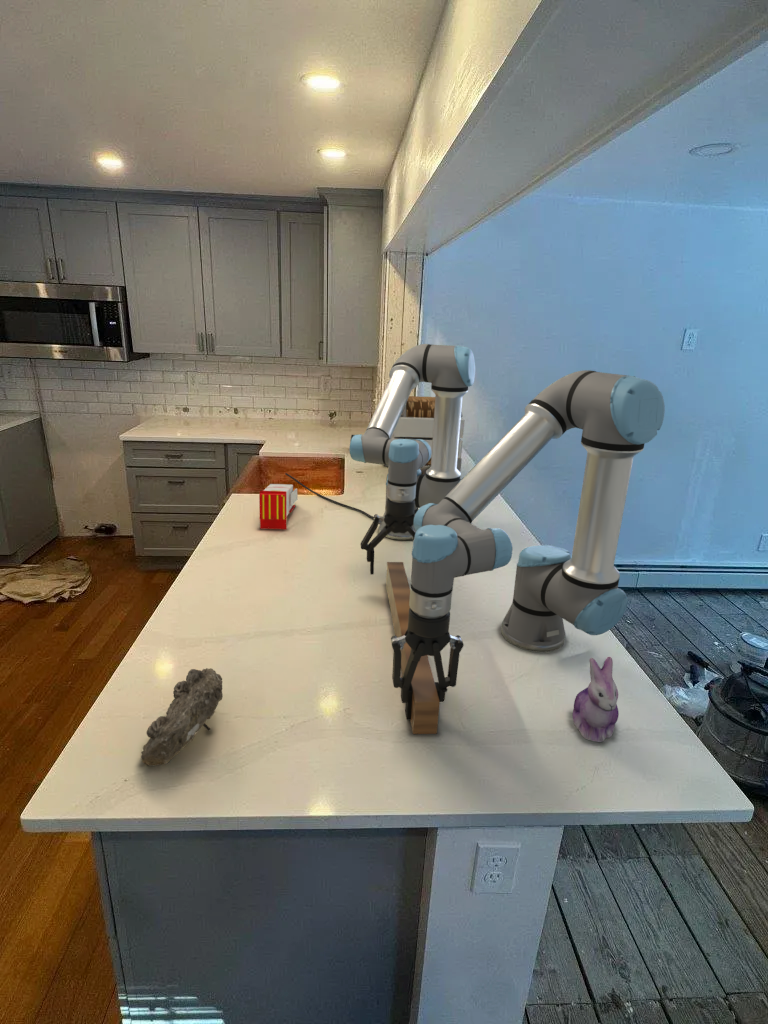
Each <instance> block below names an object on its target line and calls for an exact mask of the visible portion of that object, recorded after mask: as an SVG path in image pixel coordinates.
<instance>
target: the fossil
mask: <svg viewBox="0 0 768 1024" xmlns="http://www.w3.org/2000/svg"><path fill="white" fill-rule="evenodd" d="M172 696H173V700H172V701H171V703H170V704H169V707H168V708H167V710H166V712H165V713H166V714H165V715H166V716H163V715H160V716H158V717H157V718H156V720H153V721H152V722H151V724H150V725H149V726H148V728H147V730H146V736H147V737H148V738H149V739H148V740H147V742H146V743H145V744H144V745H143V746H142V750H141V752H140V753H141V756H140V759H141V762H142V763H143V764H146V765H148V766H149V767H155V766H160V765H167V764H168V763H169V762H170V761H172V759H174V757H176V755H178V754H180V752H181V751H182V750H183V749H184V748H185V747H186V746H187V745H189V744H190V742H192V741H193V739H194V738H195V736H196V734H197V733H198V732H199V731H200V730H201V729H202V728H204V729H206V730H207V731H208V732H209V731H211V728H210V726H208V724H206V721H207V720H210V719H211V718H212V716H213V715H214V714H215V711H216V709H217V707H218V705H219V703H220V702H221V701H222V699H223V698H224V697H223V696H224V695H223V677H222V676H221V674H219V673H217V671H216V670H215V669H213V668H207V667H206V668H203V669H202V670H200V669H196V668H191V669H190V670H189V671H188V673H187V675H186V677H185V680H181V681H178V682H177V683H176V684H175V685H174V687H173V695H172Z"/></svg>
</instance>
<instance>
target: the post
mask: <svg viewBox="0 0 768 1024" xmlns="http://www.w3.org/2000/svg"><path fill="white" fill-rule="evenodd" d="M385 574H386V576H385V588H386V593H387V599H388V603H389V604H388V605H389V610H390V615H391V620H392V626H393V631H394V632H393V633H394V636H396V637H397V638H398V637H401V636H404V635H405V632H406V631H407V629H408V617H409V608H410V606H409V601H410V589H411V586H410V583H409V580H408V576H407V572H406V568H405V563H404V562H402V561H387V562H386V573H385ZM410 653H411V648H410V646H409V645H408V644H407V642H406V643H405V644H404V648H403V649H402V650H401V677H403V674H404V671H405V668H406V665H407V662H408V659H409V656H410ZM432 670H433V669H432V667H431V663H430V660H429V655H425V656H421V658H420V661H419V662H418V664H417V667H416V670H415V673H414V676H413V679H412V681H411V685H412V690H413V694H412V708H411V719H409V720H410V721H409V722H410V727H411V731H412V732H411V733H412V735H432V734H434V735H435V734H438V724H439V715H440V714H439V712H440V705H441V704H440V703H441V702H440V701H439V697H438V693H437V689H436V686H435V682H436V681H435V678H434V674H433V671H432Z"/></svg>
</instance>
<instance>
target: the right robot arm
mask: <svg viewBox="0 0 768 1024" xmlns="http://www.w3.org/2000/svg"><path fill="white" fill-rule="evenodd" d="M665 406H666V405H665V400H664V396H663V394H662V391H660V389H659V387H658V386H657V385H656V384H655V383H654V382H652V381H651V380H648V379H644V378H640V377H636V376H635V375H629V374H628V375H627V374H619V373H610V372H602V371H601V372H600V371H596V370H591V369H588V370H587V369H585V370H583V369H582V370H577V371H574V372H572V373H569V374H566V375H564V376H562V377H560V378H559V379H557V380H556V381H553V382H552V383H551V384H549V385H547V386H546V387H545V388H544V389H543V390H541V391H540V392H539V393H538V394H537V395H536V396H535V397H534V398H533V399H532V400H531V401H530V402H528V403H527V405H526V406H525V407H524V415H523V416H521V417H520V419H519V420H518V421H516V423H515V424H514V425H513V426H512V427H511V428H510V429H509V430H508V431H507V432H506V433H505V434H504V435H503V436H502V438H500V440H498V442H496V444H494V446H493V447H491V449H490V450H489V451H488V452H487V453H486V454H485V455H483V457H482V458H481V459H480V460H479V461H478V462H477V463H476V464H475V465H474V466H473V467H472V468H471V470H469V471H468V472H467V474H465V476H464V477H463V478H461V479H462V480H461V481H460V482H459V483H458V484H457V485H456V486H455V487H454V488H453V489H452V490H451V491H450V492H449V493H448V494H447V495H446V496H445V498H444V499H443V500H442V501H441V502H440V503H439V504H434V503H429V504H426V505H423V506H422V507H420V508H418V511H417V512H416V514H415V517H414V528H415V530H416V533H415V537H414V539H413V543H412V550H411V575H410V601H409V606H410V608H409V617H408V629H407V631H406V632H405V635H404V636H401V637H398V638H397V637H396V636H395V635H392V636H391V638H390V641H391V647H392V650H393V653H392V655H393V656H392V673H391V675H392V676H391V678H392V684H393V688H394V689H398V688H400V699H401V703H402V704H405V709H404V710H405V717H406V720H410V719H411V708H412V694H413V690H412V685H411V681H412V679H413V676H414V673H415V670H416V667H417V664H418V662H419V661H420V658H421V656H425V655H428V657H433V661H434V665H435V666H434V667H435V672H436V677H437V681H434V682H435V686H436V689H437V693H438V697H439V701H440V703H445V701H446V692H448V688H449V687H450V688H454V687H456V686H457V680H458V671H459V662H460V661H459V660H460V653H461V652H462V650H463V648H464V645H465V644H464V641H463V639H462V636H461V635H459V634H458V635H457V634H456V635H451V634H450V631H449V630H450V622H451V621H450V620H451V612H450V611H451V608H452V598H453V590H454V589H453V588H454V581H455V578H459V577H460V578H461V577H464V576H470V575H475V574H480V573H485V572H492V571H494V570H496V569H500V568H503V567H505V566H507V565H509V563H510V562H511V560H512V557H513V549H514V548H513V543H512V541H511V538H510V535H509V534H508V533H507V532H506V531H505V530H504V529H502V528H499V527H495V528H494V527H493V528H491V527H487V528H486V529H482V528H480V527H477V526H476V525H474V524H473V522H474V521H475V520H476V519H477V517H478V516H479V515H480V514H481V513H482V512H484V511H485V509H486V508H487V507H488V506H489V505H490V504H491V503H492V502H493V501H494V500H495V499H496V498H497V497H498V496H499V494H501V492H502V491H504V489H505V488H506V487H507V486H508V485H509V484H510V483H511V482H512V481H513V480H514V479H515V478H516V477H517V476H518V475H519V474H520V473H521V471H522V470H524V469H525V467H526V466H528V464H529V463H530V462H531V461H532V460H533V459H534V458H535V457H536V456H537V455H538V454H539V453H540V452H541V451H542V450H543V449H544V448H545V447H546V445H547V444H548V443H549V442H550V441H551V440H558V439H560V438H561V437H562V436H563V435H564V434H565V433H566V432H568V431H569V430H571V429H580V430H582V432H581V439H580V444H581V446H582V447H583V448H584V449H585V450H586V453H587V454H586V460H585V466H584V472H583V480H582V485H581V491H580V498H579V505H578V513H577V519H576V525H575V530H574V531H575V533H574V539H573V544H572V545H573V546H572V552H570V551H569V550H567V549H565V548H562V547H559V546H555V545H545V544H544V545H543V544H542V545H531V546H527V547H525V548H523V549H522V550H520V552H519V555H518V558H517V563H516V568H515V569H516V571H515V579H514V586H513V595H512V596H513V597H512V603H511V604H510V607H509V609H508V610H507V612H506V613H505V616H504V618H503V620H502V622H501V628H500V629H501V630H500V631H501V632H500V633H501V635H502V636H503V638H504V639H505V640H506V641H507V642H508V643H510V644H511V645H513V646H515V647H517V648H519V649H522V650H525V651H530V652H535V653H550V652H554V651H557V650H560V649H561V648H562V647H563V645H564V644H565V640H566V630H565V629H566V628H565V624H564V620H565V621H566V622H568V623H569V624H571V625H572V626H574V628H575V629H577V630H580V631H582V632H584V633H585V634H587V635H589V636H599V635H603V634H606V633H607V632H609V631H610V630H612V628H614V627H615V626H616V625H617V624H618V623H619V622H620V620H621V619H622V618H623V616H624V615H625V612H626V610H627V608H628V603H629V598H628V595H627V593H626V592H625V591H624V589H621V588H619V582H620V577H621V574H620V571H619V569H617V568H616V566H615V562H616V556H617V550H618V545H619V540H620V535H621V528H622V523H623V517H624V511H625V506H626V500H627V495H628V490H629V485H630V478H631V473H632V468H633V462H634V458H635V457H636V455H638V454H640V453H641V452H643V451H644V449H645V444H648V443H649V442H651V441H653V439H655V438H656V436H658V431H660V430H661V428H662V426H663V423H664V419H665V412H666V410H665V409H666V408H665ZM406 642H407V644H408V645H409V646H410V648H411V653H410V656H409V659H408V662H407V665H406V668H405V671H404V674H403V677H402V676H401V675H402V671H401V650H402V649H403V648H404V644H405V643H406ZM448 644H449V647H450V649H449V658H448V668H447V676H446V675H445V671H444V666H443V660H442V653H441V652H442V650H443V649H444V648H445V647H446V646H447V645H448Z"/></svg>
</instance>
